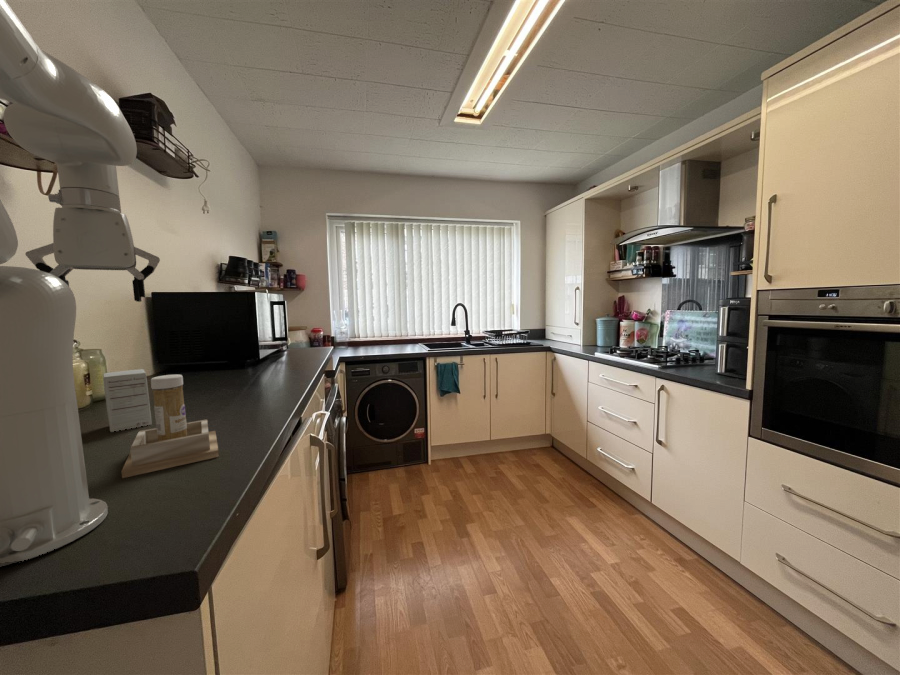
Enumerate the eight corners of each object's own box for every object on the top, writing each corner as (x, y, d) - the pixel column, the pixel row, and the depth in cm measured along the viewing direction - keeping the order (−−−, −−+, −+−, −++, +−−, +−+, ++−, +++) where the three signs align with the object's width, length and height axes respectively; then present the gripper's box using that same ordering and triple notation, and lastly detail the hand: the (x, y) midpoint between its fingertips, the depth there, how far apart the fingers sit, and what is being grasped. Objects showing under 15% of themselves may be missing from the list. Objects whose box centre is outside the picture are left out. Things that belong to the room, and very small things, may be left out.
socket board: (218, 456, 65) (216, 433, 64) (122, 478, 57) (119, 452, 57) (215, 436, 75) (214, 416, 75) (133, 452, 68) (131, 430, 68)
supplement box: (109, 425, 85) (103, 372, 84) (150, 418, 90) (144, 368, 89) (108, 433, 79) (102, 376, 78) (152, 425, 84) (146, 371, 83)
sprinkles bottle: (188, 449, 65) (181, 376, 64) (156, 455, 63) (148, 379, 62) (189, 441, 69) (183, 372, 68) (159, 447, 67) (152, 375, 66)
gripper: (9, 191, 56) (24, 302, 58) (152, 206, 66) (162, 300, 67) (27, 203, 62) (41, 303, 64) (156, 215, 72) (165, 301, 74)
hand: (103, 301), depth 66 cm, fingers open, 9 cm apart
